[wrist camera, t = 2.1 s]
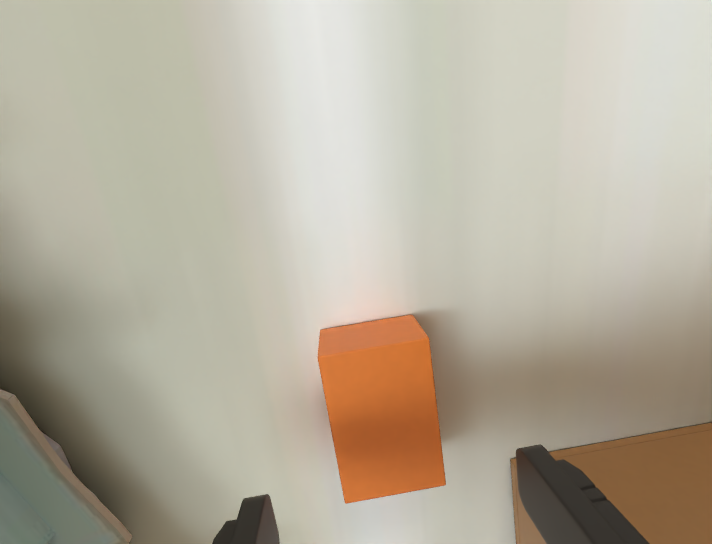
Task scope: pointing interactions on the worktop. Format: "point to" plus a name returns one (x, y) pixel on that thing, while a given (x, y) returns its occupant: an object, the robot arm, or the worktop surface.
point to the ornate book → (45, 489)
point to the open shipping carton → (645, 484)
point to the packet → (382, 407)
